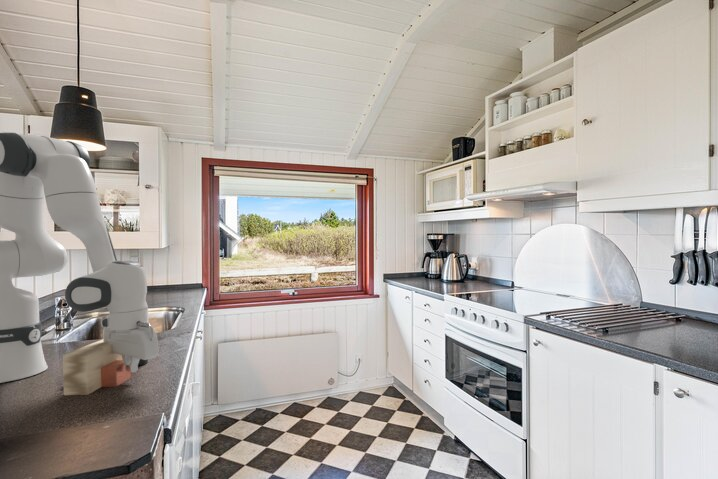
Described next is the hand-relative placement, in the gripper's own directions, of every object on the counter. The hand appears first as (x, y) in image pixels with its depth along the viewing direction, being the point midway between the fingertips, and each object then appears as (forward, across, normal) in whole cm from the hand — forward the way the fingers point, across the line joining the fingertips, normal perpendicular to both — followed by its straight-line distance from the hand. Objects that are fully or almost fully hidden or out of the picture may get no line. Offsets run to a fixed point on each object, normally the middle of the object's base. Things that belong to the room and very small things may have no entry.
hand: (131, 371), depth 98 cm
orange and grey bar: (+3, +8, +5) cm, 9 cm away
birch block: (+2, +8, +4) cm, 9 cm away
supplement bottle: (+3, +14, -8) cm, 16 cm away
